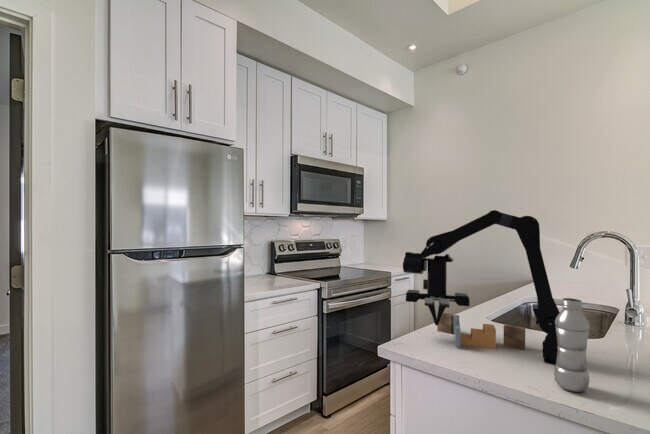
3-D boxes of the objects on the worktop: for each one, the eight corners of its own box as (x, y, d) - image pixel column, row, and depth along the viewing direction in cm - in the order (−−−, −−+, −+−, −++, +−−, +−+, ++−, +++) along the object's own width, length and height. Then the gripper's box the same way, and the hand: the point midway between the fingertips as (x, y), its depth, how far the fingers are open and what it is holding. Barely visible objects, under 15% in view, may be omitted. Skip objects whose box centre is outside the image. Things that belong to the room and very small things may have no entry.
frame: (525, 348, 102) (525, 327, 102) (523, 350, 100) (523, 329, 101) (439, 329, 119) (439, 311, 119) (437, 330, 117) (437, 313, 117)
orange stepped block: (459, 344, 105) (459, 325, 105) (458, 339, 110) (458, 321, 110) (495, 349, 102) (495, 329, 102) (493, 343, 106) (493, 324, 106)
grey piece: (453, 332, 115) (453, 314, 115) (458, 332, 115) (459, 315, 115) (454, 347, 101) (454, 327, 101) (461, 348, 101) (461, 328, 101)
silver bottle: (547, 384, 79) (547, 297, 80) (567, 380, 82) (567, 295, 82) (575, 398, 73) (576, 304, 74) (596, 392, 76) (597, 302, 76)
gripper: (466, 273, 113) (466, 320, 113) (408, 270, 119) (408, 315, 119) (469, 278, 103) (469, 331, 103) (405, 275, 108) (405, 324, 108)
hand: (436, 324), depth 108 cm, fingers closed
